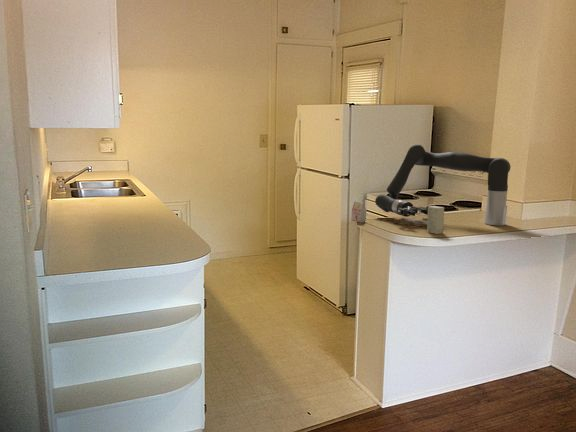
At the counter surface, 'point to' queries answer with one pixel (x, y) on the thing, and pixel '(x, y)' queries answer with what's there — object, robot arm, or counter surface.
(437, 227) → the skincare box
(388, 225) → the counter surface
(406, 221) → the dock board
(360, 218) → the pink printed carton
